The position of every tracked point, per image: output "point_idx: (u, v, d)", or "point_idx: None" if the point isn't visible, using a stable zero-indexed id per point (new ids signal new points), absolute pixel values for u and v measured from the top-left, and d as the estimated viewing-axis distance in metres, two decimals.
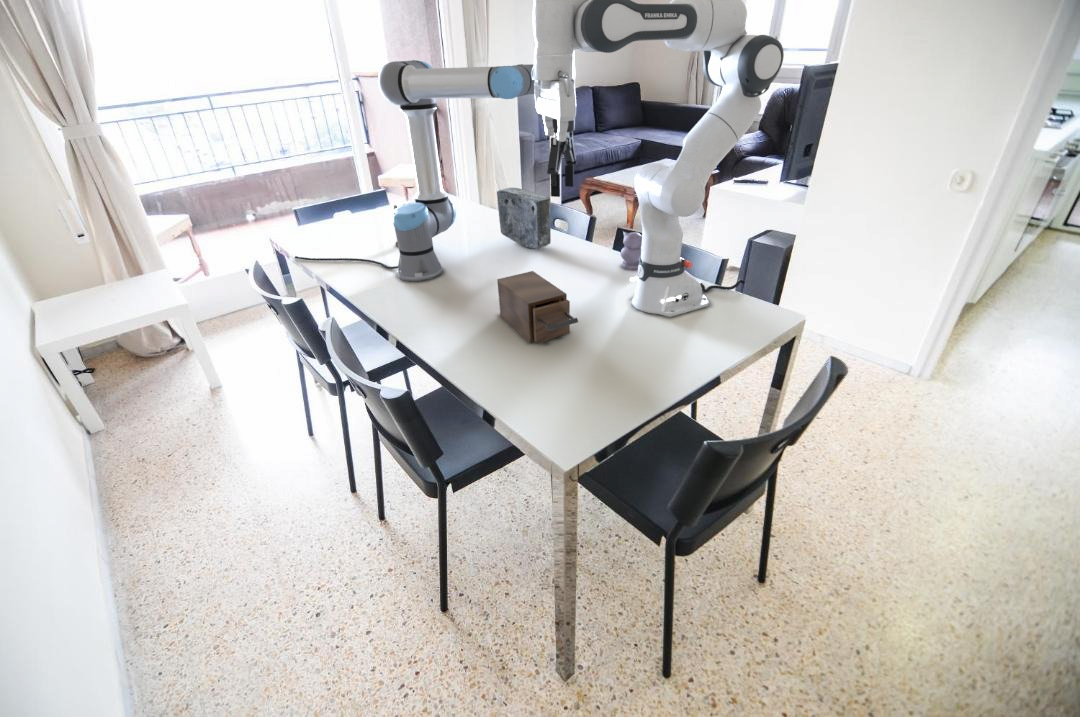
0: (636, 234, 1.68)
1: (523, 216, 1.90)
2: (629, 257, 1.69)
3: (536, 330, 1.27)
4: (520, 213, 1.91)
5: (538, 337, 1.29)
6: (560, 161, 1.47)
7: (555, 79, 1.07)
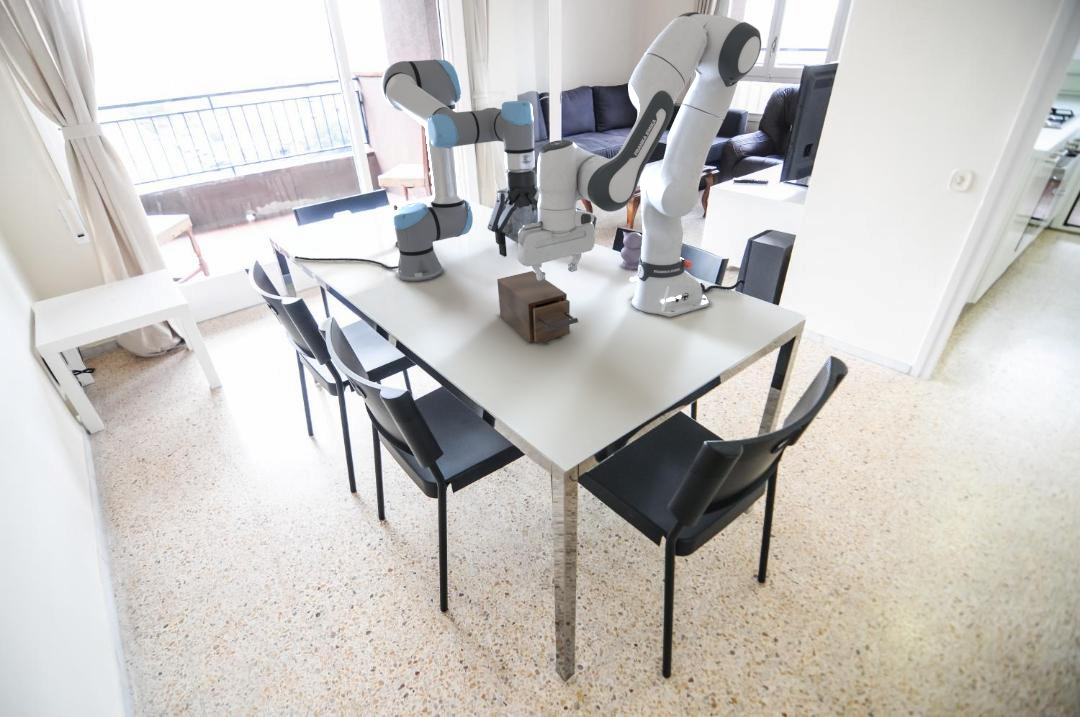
0: (636, 234, 1.68)
1: (523, 216, 1.90)
2: (629, 257, 1.69)
3: (536, 330, 1.27)
4: (520, 213, 1.91)
5: (538, 337, 1.29)
6: (507, 218, 1.29)
7: None
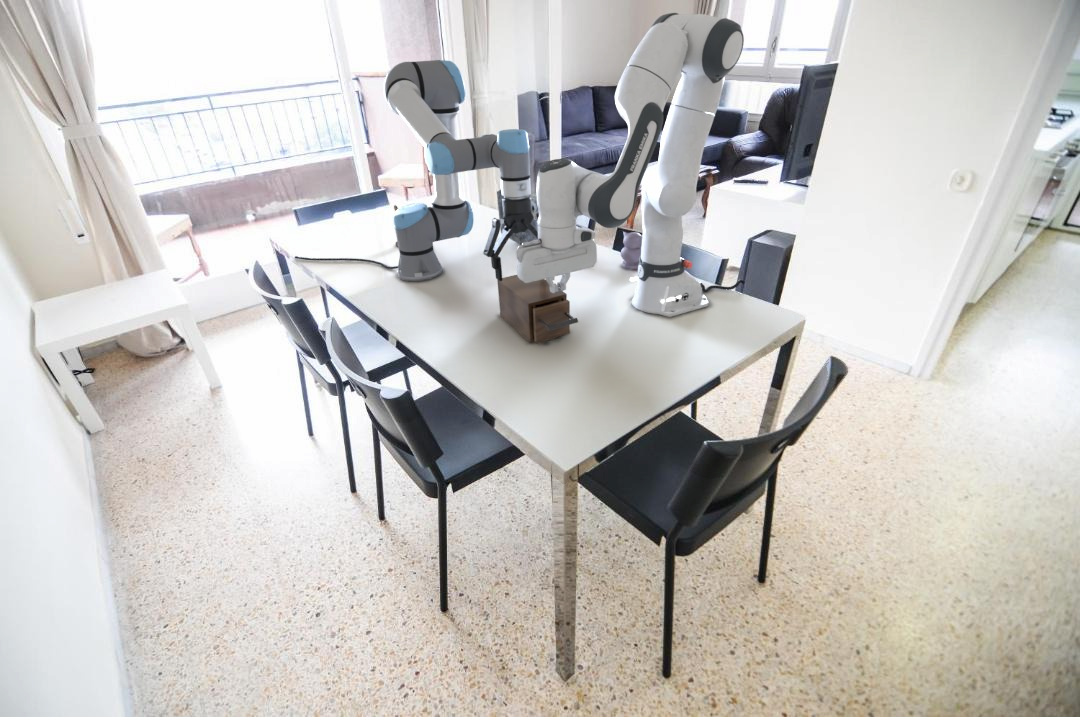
0: (636, 234, 1.68)
1: None
2: (629, 257, 1.69)
3: (536, 330, 1.27)
4: None
5: (538, 337, 1.29)
6: (503, 244, 1.30)
7: None
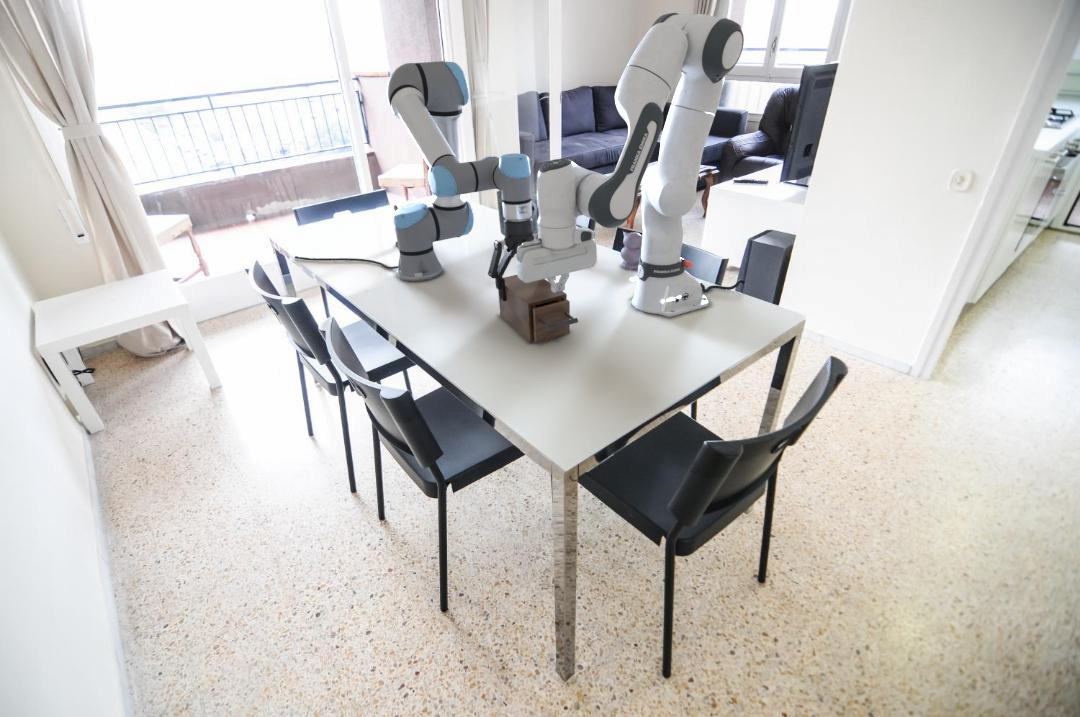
0: (636, 234, 1.68)
1: None
2: (629, 257, 1.69)
3: (536, 330, 1.27)
4: None
5: (538, 337, 1.29)
6: (506, 265, 1.33)
7: None
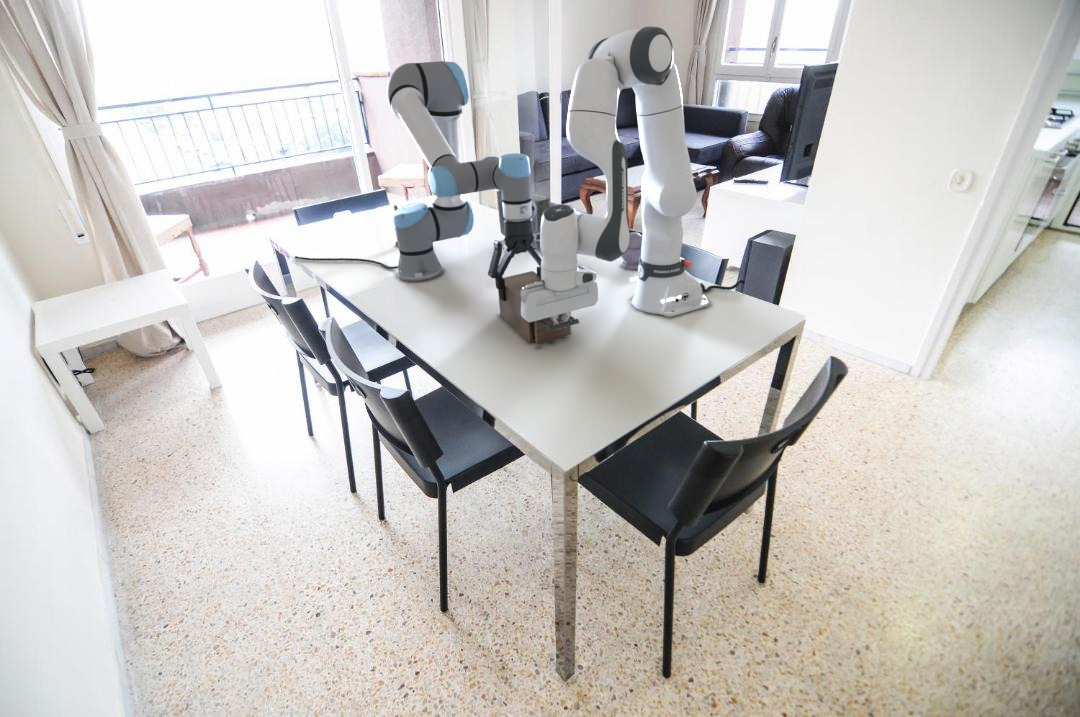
0: (636, 234, 1.68)
1: None
2: (629, 257, 1.69)
3: (537, 331, 1.27)
4: None
5: (539, 338, 1.28)
6: (506, 265, 1.33)
7: None
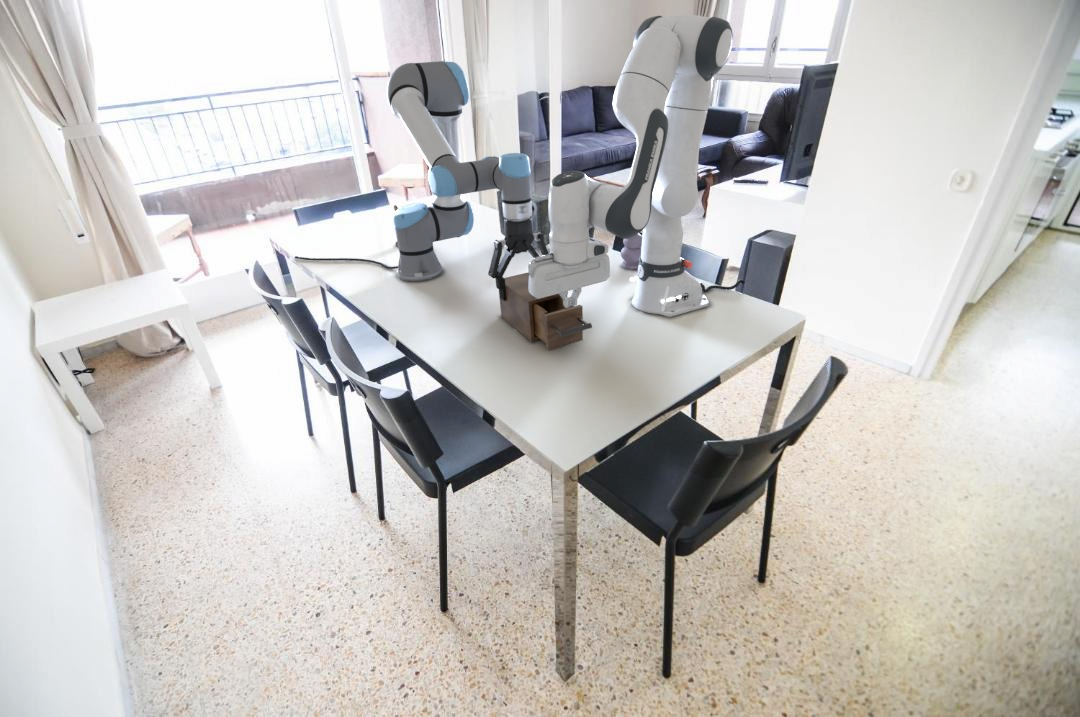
0: None
1: None
2: (629, 257, 1.69)
3: (548, 337, 1.22)
4: None
5: (551, 344, 1.23)
6: (506, 265, 1.33)
7: None
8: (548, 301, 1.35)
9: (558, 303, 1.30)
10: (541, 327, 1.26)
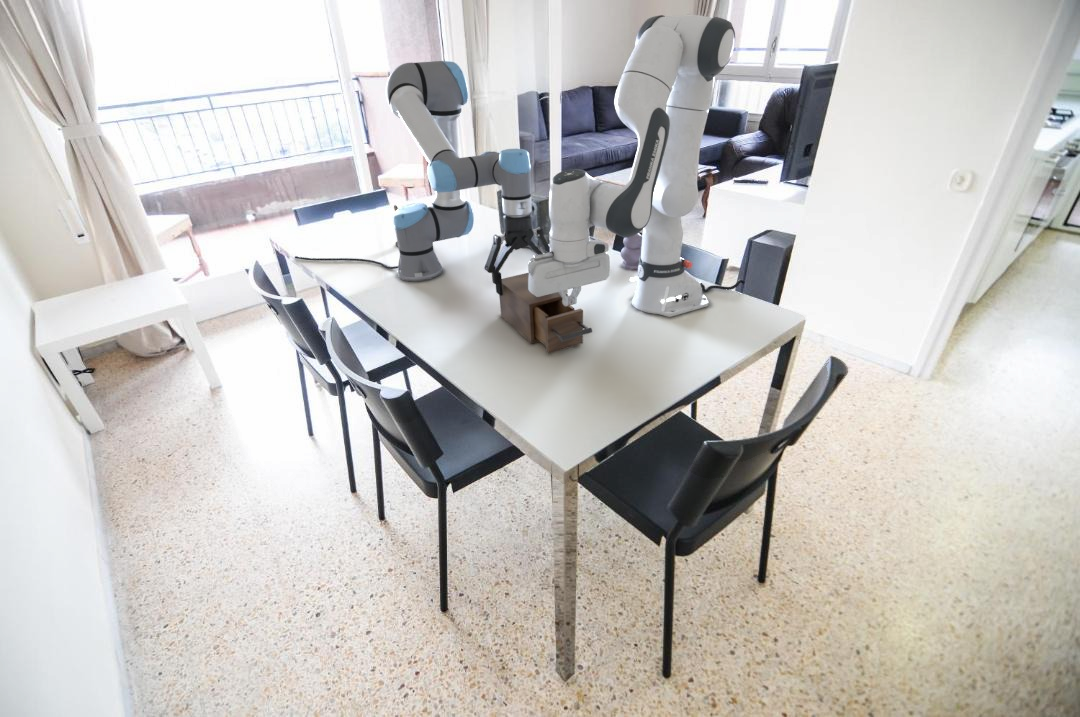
0: (636, 234, 1.68)
1: None
2: (629, 257, 1.69)
3: (548, 340, 1.23)
4: None
5: (551, 348, 1.24)
6: (504, 260, 1.33)
7: None
8: (548, 303, 1.36)
9: (559, 305, 1.31)
10: (541, 330, 1.26)
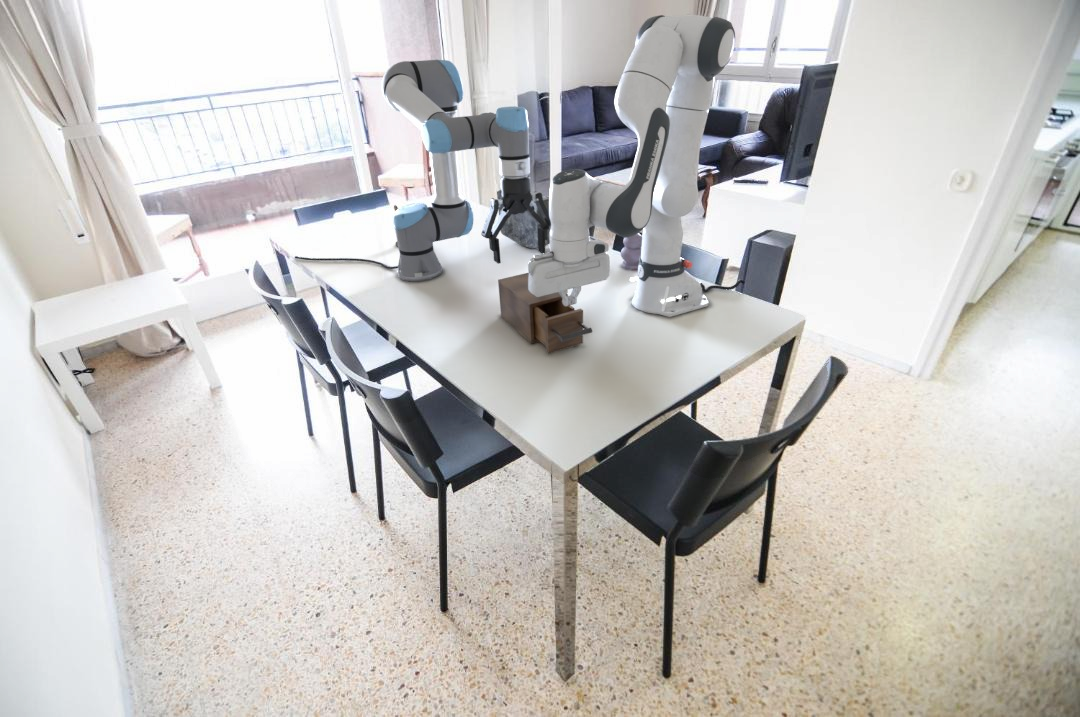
0: (636, 234, 1.68)
1: (523, 216, 1.90)
2: (629, 257, 1.69)
3: (548, 340, 1.23)
4: (520, 213, 1.91)
5: (551, 348, 1.24)
6: (501, 225, 1.28)
7: None
8: (548, 303, 1.36)
9: (559, 305, 1.31)
10: (541, 330, 1.26)
